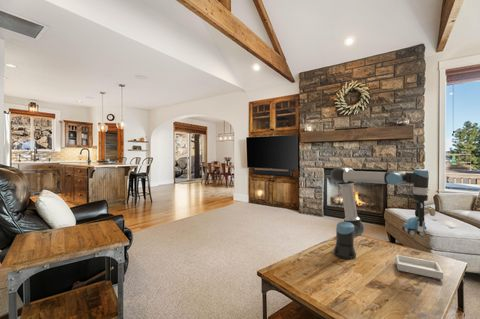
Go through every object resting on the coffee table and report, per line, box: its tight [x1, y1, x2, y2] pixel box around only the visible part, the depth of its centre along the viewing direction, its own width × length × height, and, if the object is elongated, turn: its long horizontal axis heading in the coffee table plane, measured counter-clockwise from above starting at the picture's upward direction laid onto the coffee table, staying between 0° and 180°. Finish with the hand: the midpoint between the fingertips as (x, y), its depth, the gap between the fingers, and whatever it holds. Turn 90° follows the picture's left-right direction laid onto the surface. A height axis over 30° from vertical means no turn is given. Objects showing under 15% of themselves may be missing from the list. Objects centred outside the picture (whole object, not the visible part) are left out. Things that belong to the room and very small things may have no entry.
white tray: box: [395, 254, 444, 282], centre depth 150 cm, size 22×15×6 cm
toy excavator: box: [401, 207, 436, 238], centre depth 149 cm, size 9×17×17 cm, turn 79°
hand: (418, 228), depth 149 cm, fingers closed on toy excavator, 9 cm apart
